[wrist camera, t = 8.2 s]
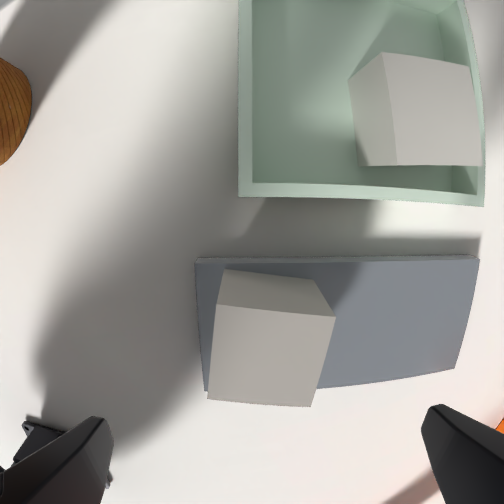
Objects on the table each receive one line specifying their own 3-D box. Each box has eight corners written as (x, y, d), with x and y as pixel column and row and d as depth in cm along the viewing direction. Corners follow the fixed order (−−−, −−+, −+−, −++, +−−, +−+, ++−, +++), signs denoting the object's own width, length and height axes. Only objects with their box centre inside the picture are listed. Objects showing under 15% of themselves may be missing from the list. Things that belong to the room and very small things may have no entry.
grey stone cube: (296, 355, 15) (310, 407, 11) (215, 347, 15) (207, 398, 11) (313, 279, 14) (336, 316, 10) (224, 268, 14) (216, 304, 10)
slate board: (446, 360, 17) (454, 368, 16) (206, 380, 17) (204, 391, 16) (469, 254, 15) (480, 259, 14) (197, 257, 15) (194, 263, 14)
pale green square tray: (449, 200, 15) (483, 207, 12) (239, 192, 14) (238, 197, 11) (435, 15, 12) (462, -4, 9) (240, -16, 12) (239, -48, 9)
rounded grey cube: (431, 165, 13) (482, 166, 9) (358, 166, 13) (397, 165, 10) (421, 86, 12) (468, 66, 9) (347, 80, 12) (381, 51, 9)
